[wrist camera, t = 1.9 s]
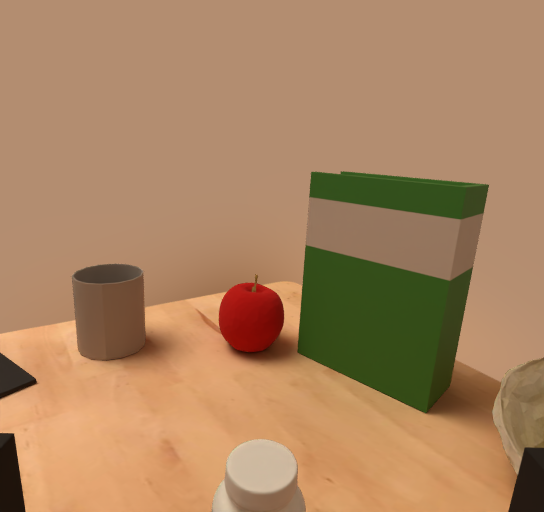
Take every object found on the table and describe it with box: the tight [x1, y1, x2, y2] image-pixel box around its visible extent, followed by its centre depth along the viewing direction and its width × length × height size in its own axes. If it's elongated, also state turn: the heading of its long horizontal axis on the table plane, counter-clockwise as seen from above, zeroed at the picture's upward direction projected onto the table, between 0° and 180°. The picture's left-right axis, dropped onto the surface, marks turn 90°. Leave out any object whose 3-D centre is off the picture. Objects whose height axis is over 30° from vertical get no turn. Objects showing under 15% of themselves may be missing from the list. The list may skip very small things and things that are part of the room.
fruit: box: [219, 275, 284, 352], centre depth 54 cm, size 9×9×10 cm
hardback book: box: [297, 172, 489, 413], centre depth 48 cm, size 18×7×24 cm, turn 48°
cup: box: [72, 264, 146, 360], centre depth 52 cm, size 8×8×10 cm
